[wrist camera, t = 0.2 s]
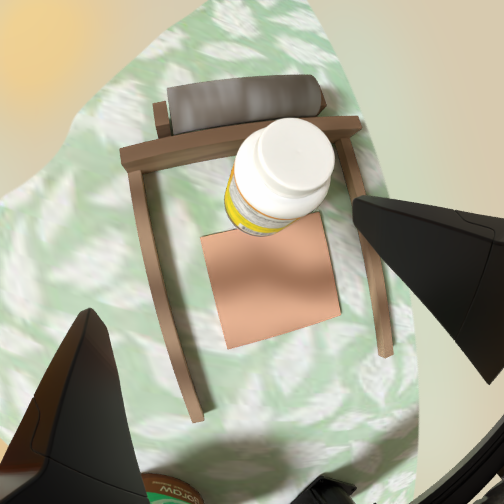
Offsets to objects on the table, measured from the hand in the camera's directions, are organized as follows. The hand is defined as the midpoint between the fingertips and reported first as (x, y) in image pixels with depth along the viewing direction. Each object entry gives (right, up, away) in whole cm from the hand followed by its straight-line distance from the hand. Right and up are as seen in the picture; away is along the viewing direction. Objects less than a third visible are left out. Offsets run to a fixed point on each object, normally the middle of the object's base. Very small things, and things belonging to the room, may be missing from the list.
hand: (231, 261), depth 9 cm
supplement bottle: (+1, +4, +15) cm, 16 cm away
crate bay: (+2, 0, +15) cm, 15 cm away
